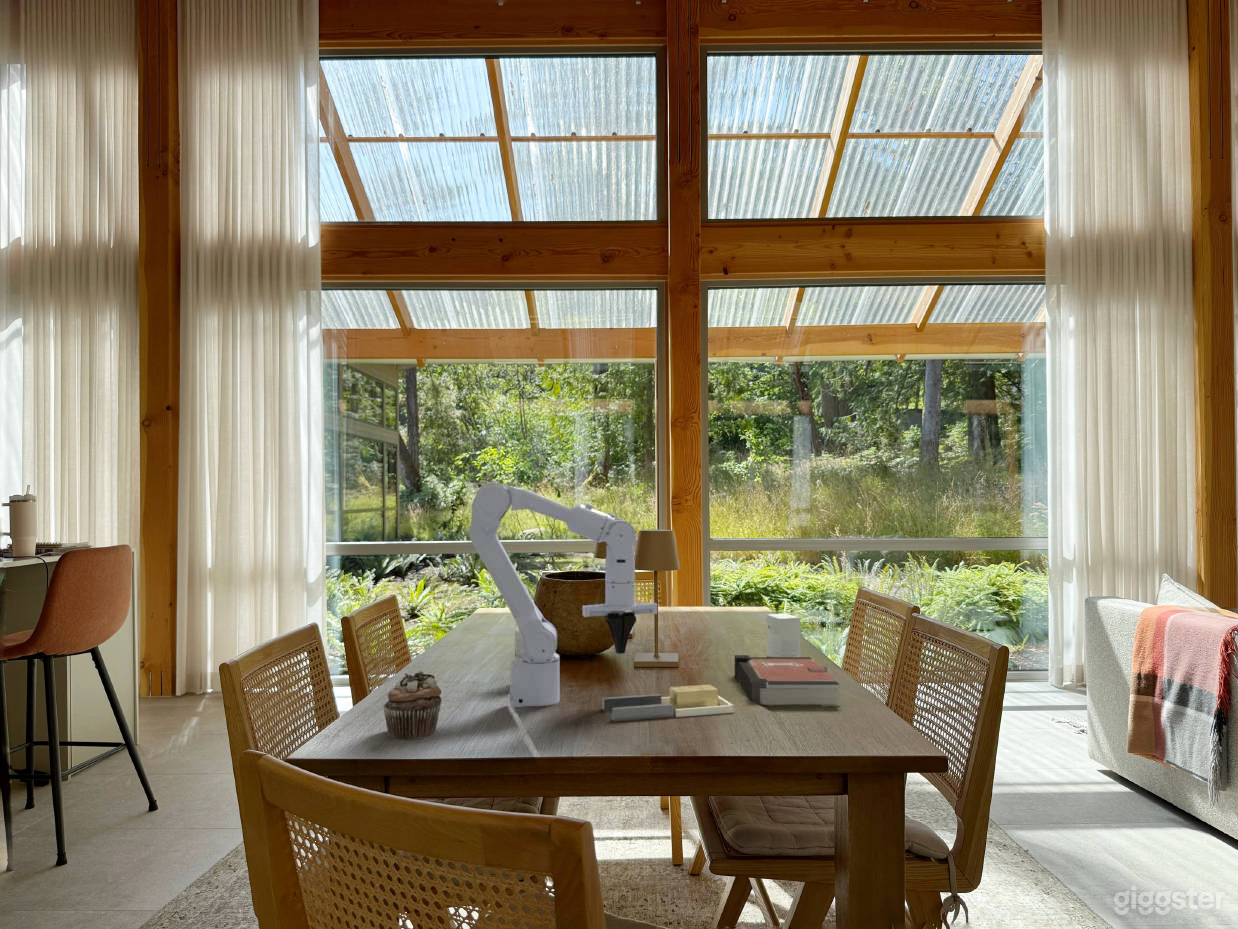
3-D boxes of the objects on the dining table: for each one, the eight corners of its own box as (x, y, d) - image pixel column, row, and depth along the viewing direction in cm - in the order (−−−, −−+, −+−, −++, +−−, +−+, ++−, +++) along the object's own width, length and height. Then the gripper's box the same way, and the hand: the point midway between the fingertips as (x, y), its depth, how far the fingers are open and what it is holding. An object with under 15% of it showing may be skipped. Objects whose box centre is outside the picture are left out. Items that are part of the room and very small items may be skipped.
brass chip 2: (697, 713, 149) (697, 690, 149) (690, 707, 152) (689, 685, 153) (718, 711, 150) (717, 689, 150) (710, 706, 153) (709, 684, 154)
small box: (801, 661, 197) (801, 617, 197) (780, 662, 195) (779, 618, 196) (787, 655, 204) (786, 612, 205) (766, 656, 203) (766, 613, 204)
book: (844, 708, 155) (843, 682, 155) (752, 708, 155) (751, 682, 156) (813, 677, 181) (813, 655, 182) (734, 677, 182) (734, 655, 182)
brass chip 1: (676, 714, 148) (676, 692, 148) (669, 709, 151) (669, 687, 152) (697, 713, 149) (697, 690, 149) (690, 707, 152) (689, 685, 153)
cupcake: (415, 721, 146) (415, 665, 146) (452, 730, 140) (453, 672, 141) (370, 734, 138) (371, 675, 138) (409, 744, 132) (409, 682, 133)
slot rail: (614, 726, 142) (614, 709, 142) (602, 714, 150) (602, 697, 150) (674, 722, 145) (673, 705, 145) (659, 710, 153) (659, 693, 153)
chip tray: (676, 722, 145) (676, 710, 145) (660, 709, 153) (660, 697, 154) (734, 717, 147) (734, 705, 148) (715, 705, 156) (715, 693, 156)
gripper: (588, 585, 152) (588, 658, 152) (662, 582, 156) (662, 654, 155) (580, 581, 159) (580, 651, 158) (651, 579, 163) (651, 647, 162)
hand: (620, 652), depth 157 cm, fingers closed
